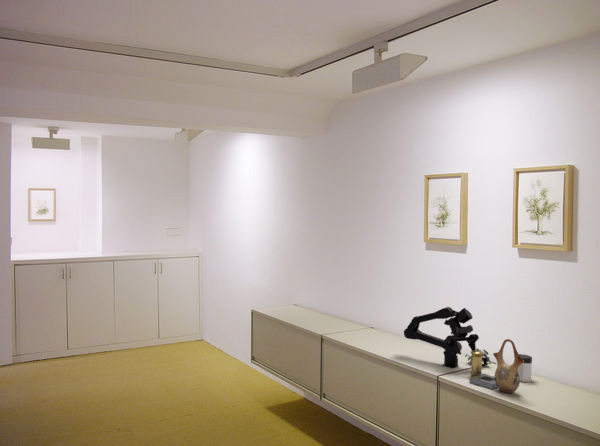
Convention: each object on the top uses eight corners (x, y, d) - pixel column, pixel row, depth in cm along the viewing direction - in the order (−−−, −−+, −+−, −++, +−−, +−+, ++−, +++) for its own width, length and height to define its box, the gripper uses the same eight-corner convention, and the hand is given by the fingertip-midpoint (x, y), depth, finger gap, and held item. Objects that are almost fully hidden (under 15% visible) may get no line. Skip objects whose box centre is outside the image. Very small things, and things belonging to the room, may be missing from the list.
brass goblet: (467, 376, 271) (468, 351, 270) (473, 374, 275) (474, 349, 275) (478, 379, 266) (480, 354, 266) (484, 377, 271) (485, 352, 270)
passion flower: (484, 374, 294) (497, 360, 288) (470, 373, 289) (482, 358, 283) (473, 359, 302) (486, 344, 297) (459, 357, 297) (472, 342, 292)
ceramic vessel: (485, 387, 254) (488, 336, 253) (497, 385, 259) (500, 334, 258) (515, 398, 240) (518, 344, 240) (527, 395, 245) (530, 342, 244)
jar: (534, 380, 269) (536, 357, 269) (526, 383, 264) (528, 359, 263) (518, 375, 276) (519, 353, 275) (510, 378, 270) (511, 355, 270)
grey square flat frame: (469, 382, 261) (470, 377, 261) (482, 378, 269) (482, 373, 269) (492, 389, 252) (492, 384, 252) (504, 384, 260) (505, 379, 260)
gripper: (448, 320, 277) (460, 346, 267) (477, 319, 283) (490, 344, 273) (438, 331, 285) (450, 357, 275) (467, 330, 291) (479, 355, 281)
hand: (467, 353), depth 276 cm, fingers open, 9 cm apart
